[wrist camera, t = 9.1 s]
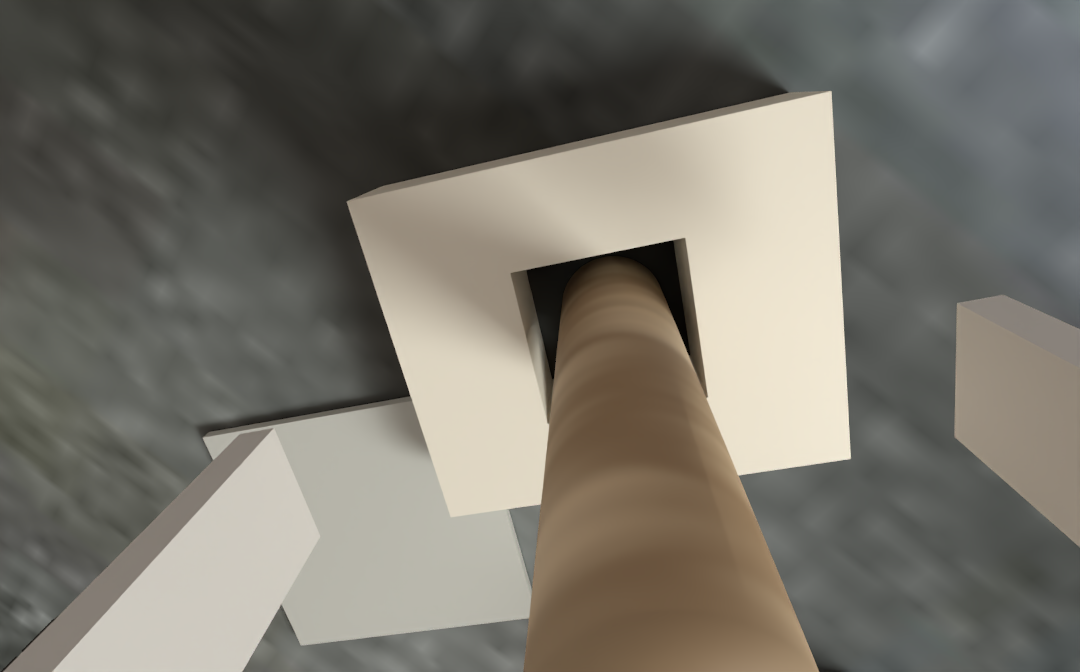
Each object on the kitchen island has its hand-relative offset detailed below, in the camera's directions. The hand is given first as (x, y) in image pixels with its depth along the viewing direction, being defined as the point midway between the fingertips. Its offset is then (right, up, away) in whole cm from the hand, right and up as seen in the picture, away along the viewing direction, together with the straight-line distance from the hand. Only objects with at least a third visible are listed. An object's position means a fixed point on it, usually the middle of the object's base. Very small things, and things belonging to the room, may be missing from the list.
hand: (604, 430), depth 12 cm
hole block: (+1, +3, +7) cm, 8 cm away
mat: (-7, -5, +11) cm, 14 cm away
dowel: (+1, +3, +8) cm, 8 cm away
